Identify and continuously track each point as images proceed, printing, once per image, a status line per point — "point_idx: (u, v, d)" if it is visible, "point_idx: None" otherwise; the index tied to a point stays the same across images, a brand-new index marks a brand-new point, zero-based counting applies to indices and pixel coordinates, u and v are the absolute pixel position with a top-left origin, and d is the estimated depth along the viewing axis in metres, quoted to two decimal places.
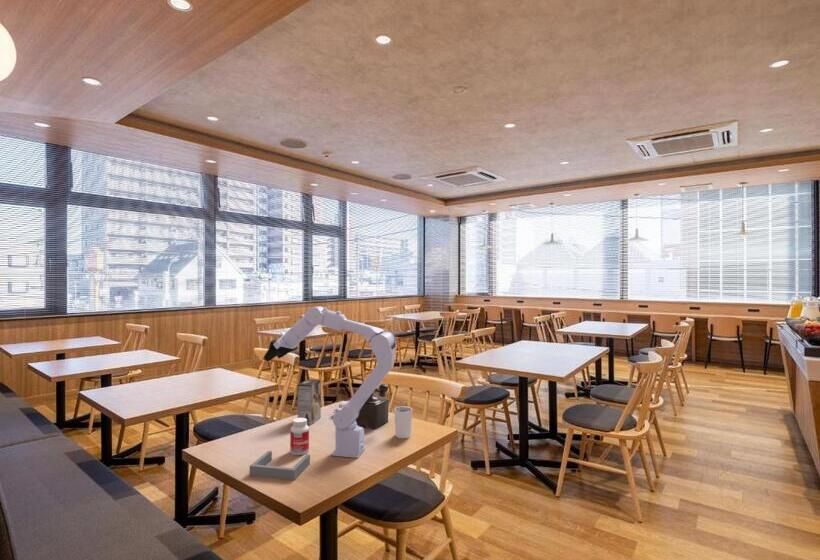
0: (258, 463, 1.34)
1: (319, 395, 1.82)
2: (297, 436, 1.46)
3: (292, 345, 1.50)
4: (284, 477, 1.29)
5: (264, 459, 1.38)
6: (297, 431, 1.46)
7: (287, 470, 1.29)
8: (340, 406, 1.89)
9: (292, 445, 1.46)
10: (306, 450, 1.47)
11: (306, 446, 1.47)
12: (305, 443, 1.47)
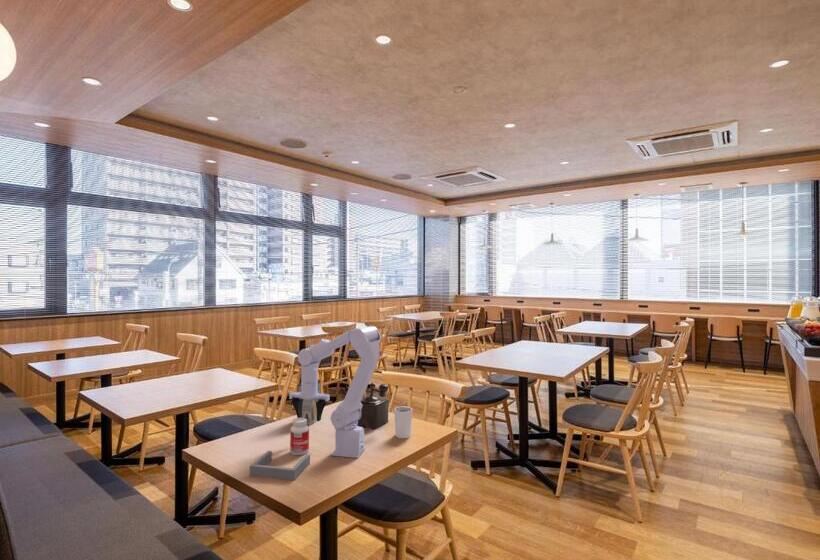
0: (258, 463, 1.34)
1: None
2: (297, 437, 1.46)
3: (302, 394, 1.54)
4: (284, 477, 1.29)
5: (264, 459, 1.38)
6: (297, 431, 1.46)
7: (287, 470, 1.29)
8: None
9: (292, 445, 1.46)
10: (306, 450, 1.47)
11: (306, 446, 1.47)
12: (305, 443, 1.47)
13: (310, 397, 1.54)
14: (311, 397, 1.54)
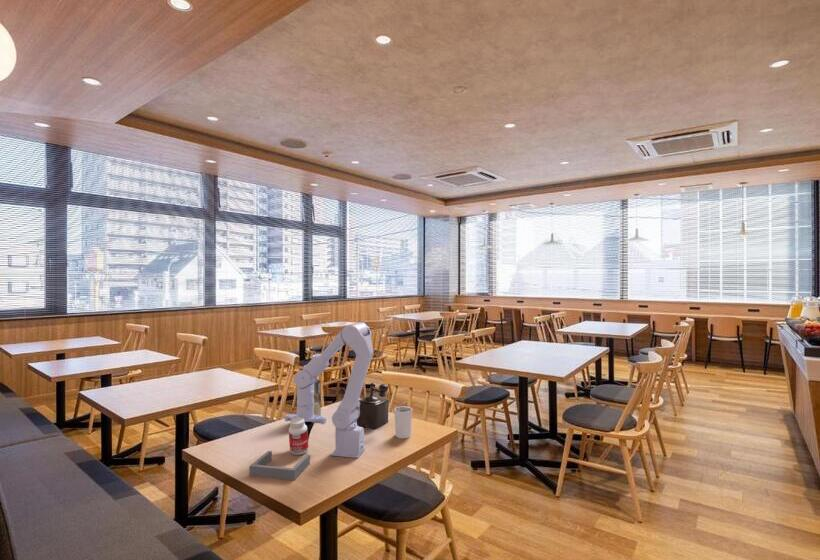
0: (258, 463, 1.34)
1: (319, 395, 1.82)
2: (296, 438, 1.45)
3: (298, 416, 1.51)
4: (284, 477, 1.29)
5: (264, 459, 1.38)
6: (295, 432, 1.45)
7: (287, 470, 1.29)
8: None
9: (291, 446, 1.46)
10: (306, 449, 1.47)
11: (305, 445, 1.47)
12: (304, 443, 1.46)
13: (306, 420, 1.50)
14: (307, 420, 1.50)
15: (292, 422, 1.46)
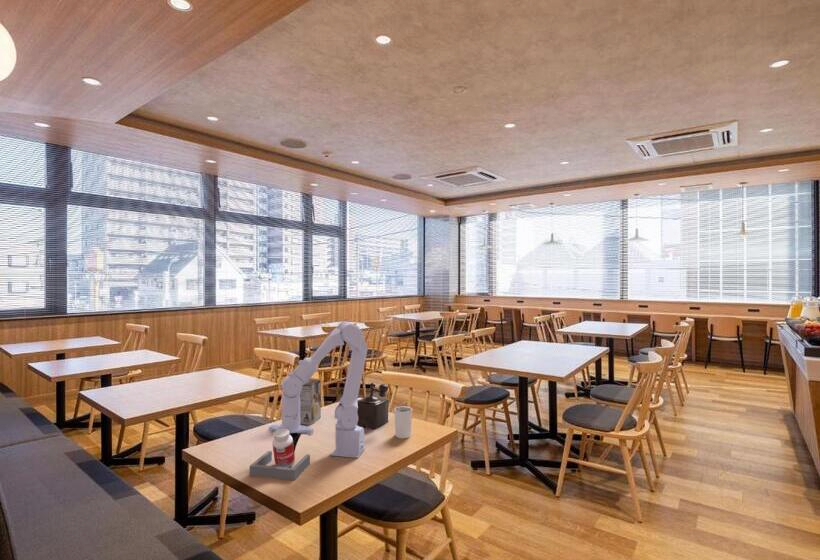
0: (258, 463, 1.34)
1: (319, 395, 1.82)
2: (280, 451, 1.34)
3: None
4: (284, 477, 1.29)
5: (264, 459, 1.38)
6: (279, 446, 1.34)
7: (287, 470, 1.29)
8: None
9: (276, 459, 1.35)
10: (292, 462, 1.37)
11: (291, 458, 1.37)
12: (290, 456, 1.36)
13: (292, 431, 1.40)
14: (293, 431, 1.40)
15: (276, 435, 1.35)
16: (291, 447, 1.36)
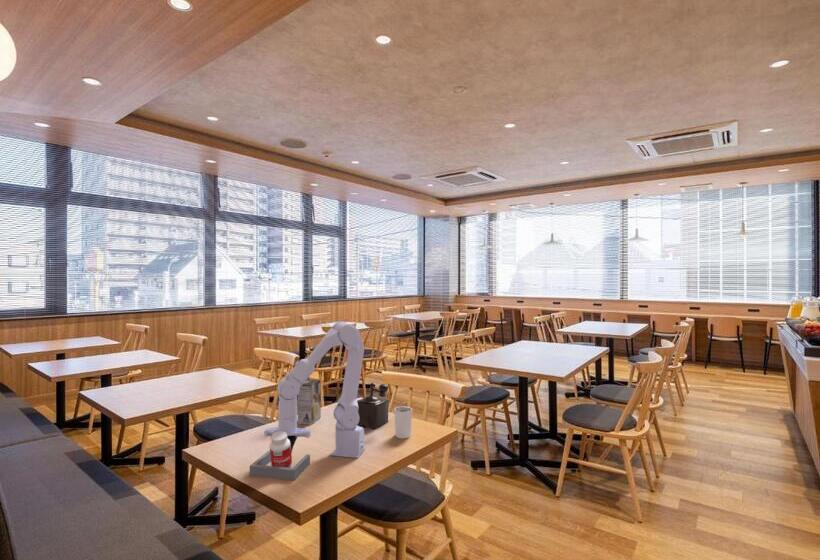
0: (258, 463, 1.34)
1: (319, 395, 1.82)
2: (277, 455, 1.32)
3: None
4: (284, 477, 1.29)
5: (264, 459, 1.38)
6: (277, 450, 1.31)
7: (287, 470, 1.29)
8: None
9: (273, 462, 1.33)
10: (289, 466, 1.35)
11: (288, 462, 1.34)
12: (287, 459, 1.33)
13: (289, 434, 1.37)
14: (290, 434, 1.37)
15: (273, 438, 1.32)
16: (288, 451, 1.34)
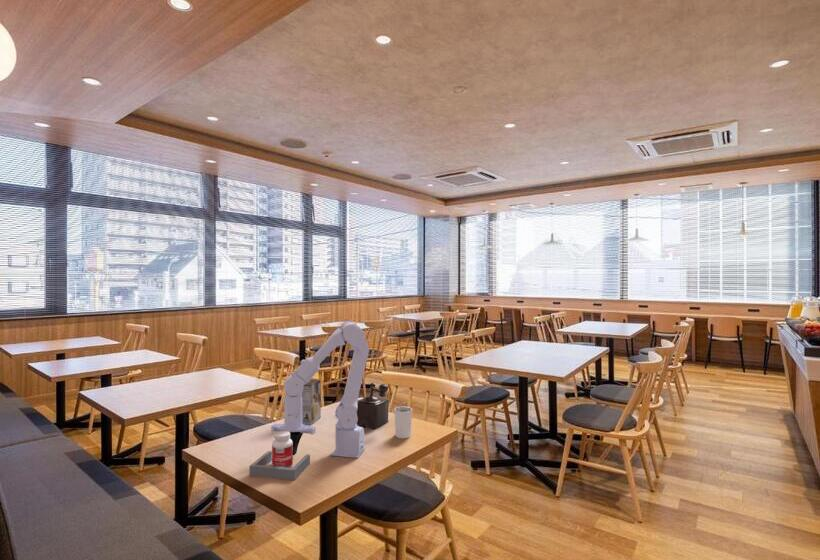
0: (258, 463, 1.34)
1: (319, 395, 1.82)
2: (279, 452, 1.33)
3: (285, 426, 1.42)
4: (284, 477, 1.29)
5: (264, 459, 1.38)
6: (279, 446, 1.33)
7: (287, 470, 1.29)
8: None
9: (274, 461, 1.34)
10: (289, 467, 1.35)
11: (289, 462, 1.35)
12: (288, 459, 1.34)
13: (294, 430, 1.41)
14: (295, 430, 1.41)
15: (277, 434, 1.35)
16: (290, 450, 1.35)
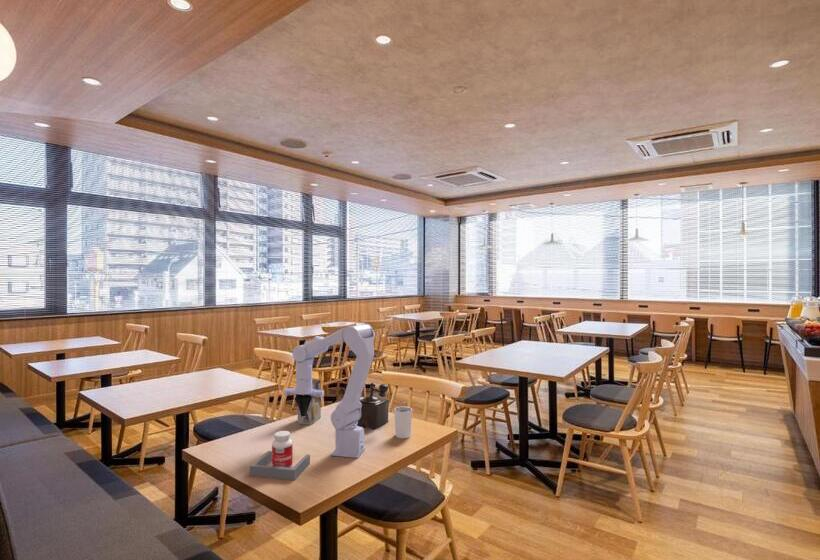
0: (258, 463, 1.34)
1: None
2: (279, 452, 1.33)
3: (297, 390, 1.56)
4: (284, 477, 1.29)
5: (264, 459, 1.38)
6: (279, 446, 1.33)
7: (287, 470, 1.29)
8: None
9: (274, 461, 1.34)
10: (289, 467, 1.35)
11: (289, 462, 1.35)
12: (288, 459, 1.34)
13: (304, 393, 1.55)
14: (305, 393, 1.55)
15: (276, 434, 1.35)
16: (290, 449, 1.35)
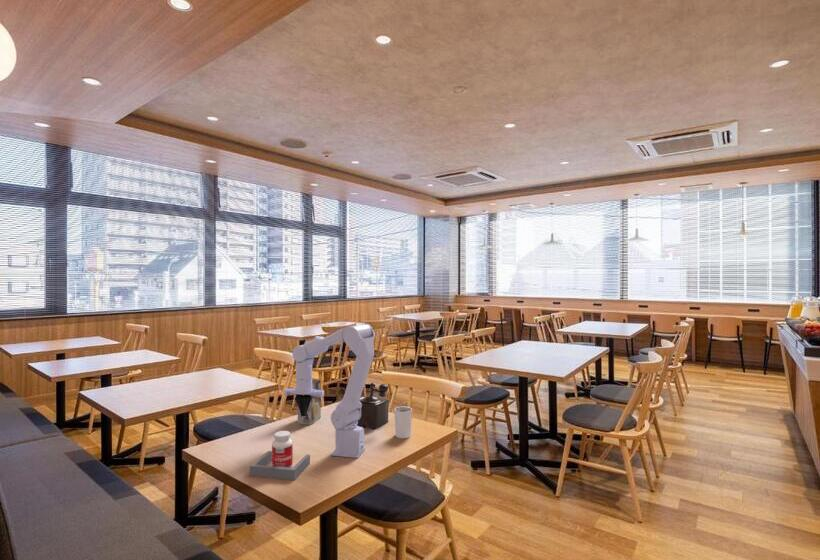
0: (258, 463, 1.34)
1: None
2: (279, 452, 1.33)
3: (297, 390, 1.56)
4: (284, 477, 1.29)
5: (264, 459, 1.38)
6: (279, 446, 1.33)
7: (287, 470, 1.29)
8: None
9: (274, 461, 1.34)
10: (289, 467, 1.35)
11: (289, 462, 1.35)
12: (288, 459, 1.34)
13: (304, 393, 1.55)
14: (305, 393, 1.55)
15: (276, 434, 1.35)
16: (290, 449, 1.35)
